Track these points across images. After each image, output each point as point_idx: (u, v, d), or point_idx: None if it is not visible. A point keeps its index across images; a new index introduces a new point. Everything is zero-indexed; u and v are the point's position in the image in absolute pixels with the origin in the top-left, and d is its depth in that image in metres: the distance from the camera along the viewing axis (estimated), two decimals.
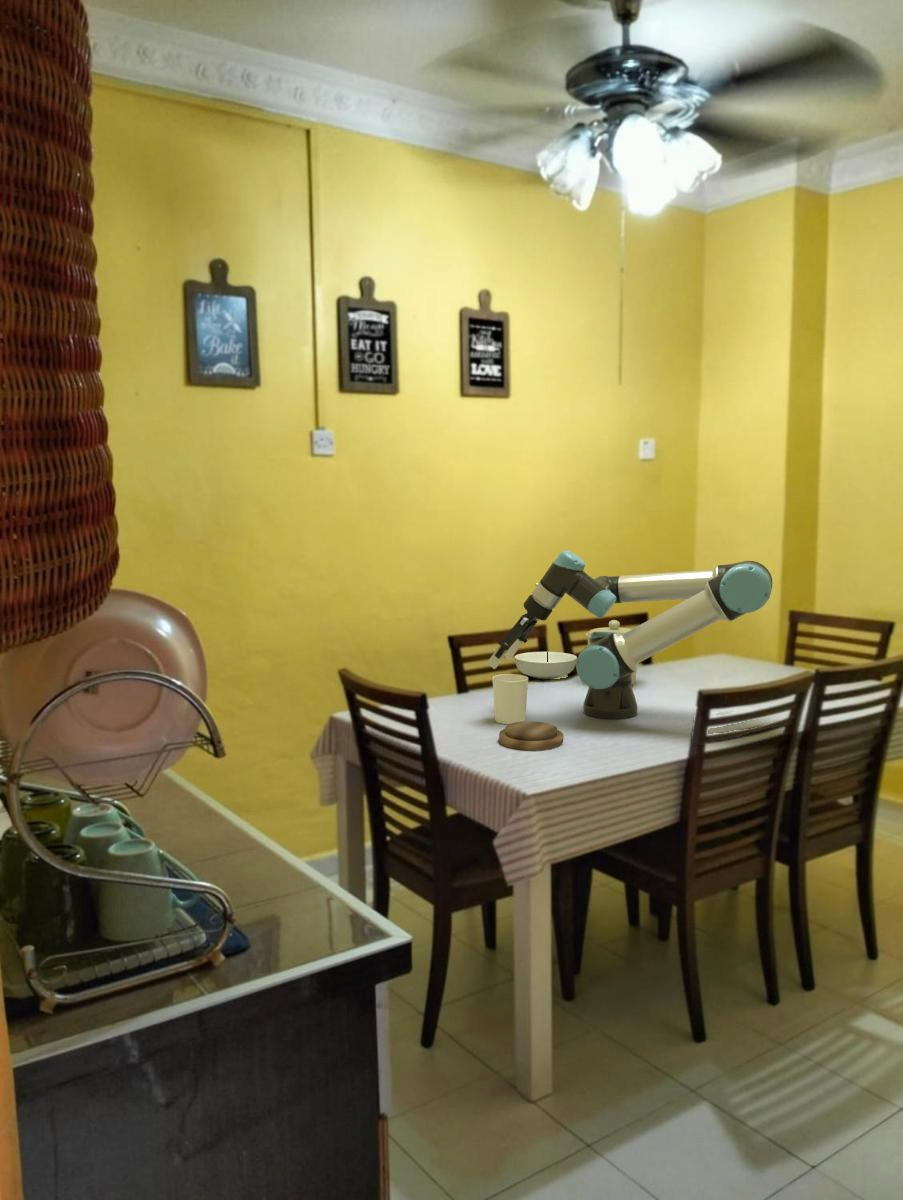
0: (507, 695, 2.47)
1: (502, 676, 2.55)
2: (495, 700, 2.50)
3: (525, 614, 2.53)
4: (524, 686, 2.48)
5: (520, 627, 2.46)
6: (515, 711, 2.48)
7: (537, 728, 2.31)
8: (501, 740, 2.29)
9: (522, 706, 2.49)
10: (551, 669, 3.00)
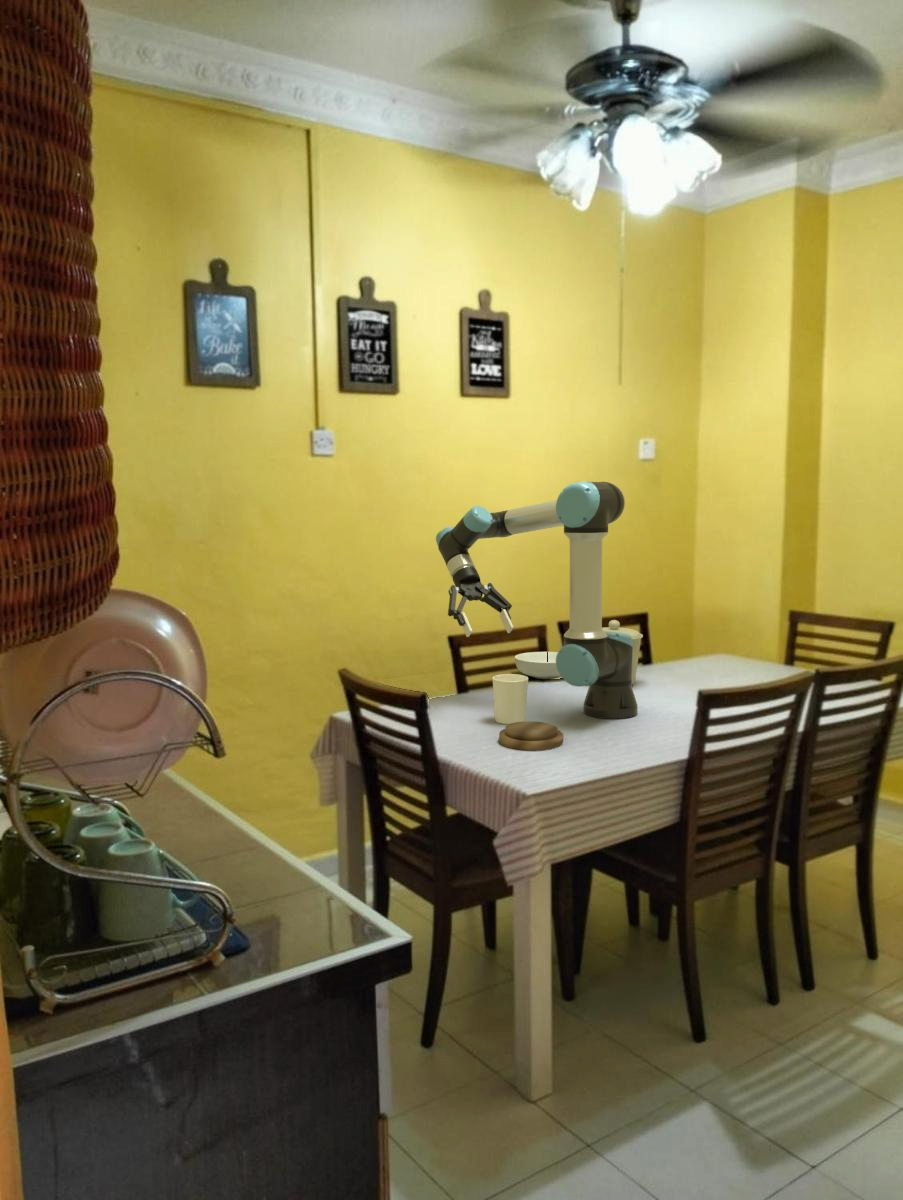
0: (507, 695, 2.47)
1: (502, 676, 2.55)
2: (495, 700, 2.50)
3: None
4: (524, 686, 2.48)
5: (451, 593, 2.62)
6: (515, 711, 2.48)
7: (537, 728, 2.31)
8: (501, 740, 2.29)
9: (522, 706, 2.49)
10: (551, 669, 3.00)
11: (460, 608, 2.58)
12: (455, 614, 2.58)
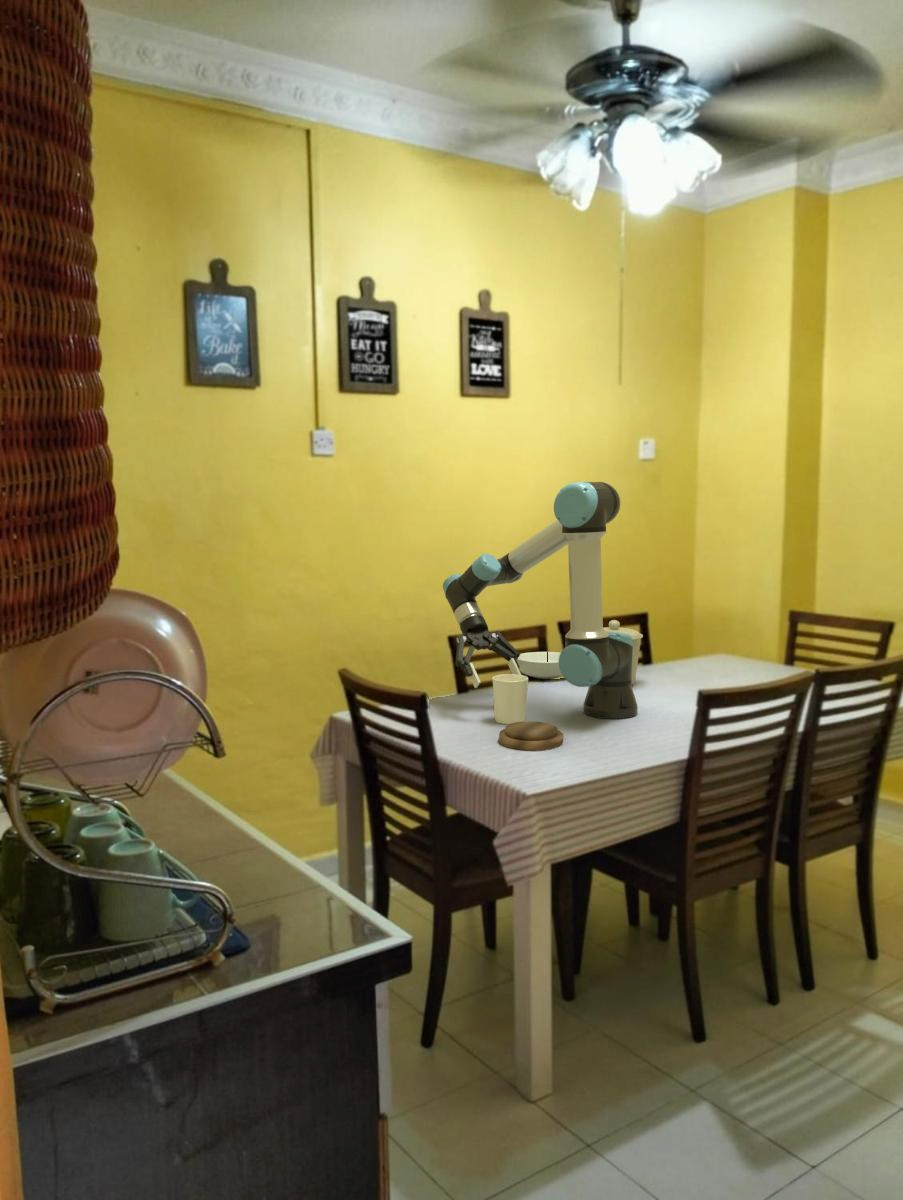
0: (507, 695, 2.47)
1: (502, 676, 2.55)
2: (495, 700, 2.50)
3: None
4: (524, 686, 2.48)
5: (459, 643, 2.59)
6: (515, 711, 2.48)
7: (537, 728, 2.31)
8: (501, 740, 2.29)
9: (522, 706, 2.49)
10: (551, 669, 3.00)
11: (468, 658, 2.55)
12: (463, 665, 2.55)
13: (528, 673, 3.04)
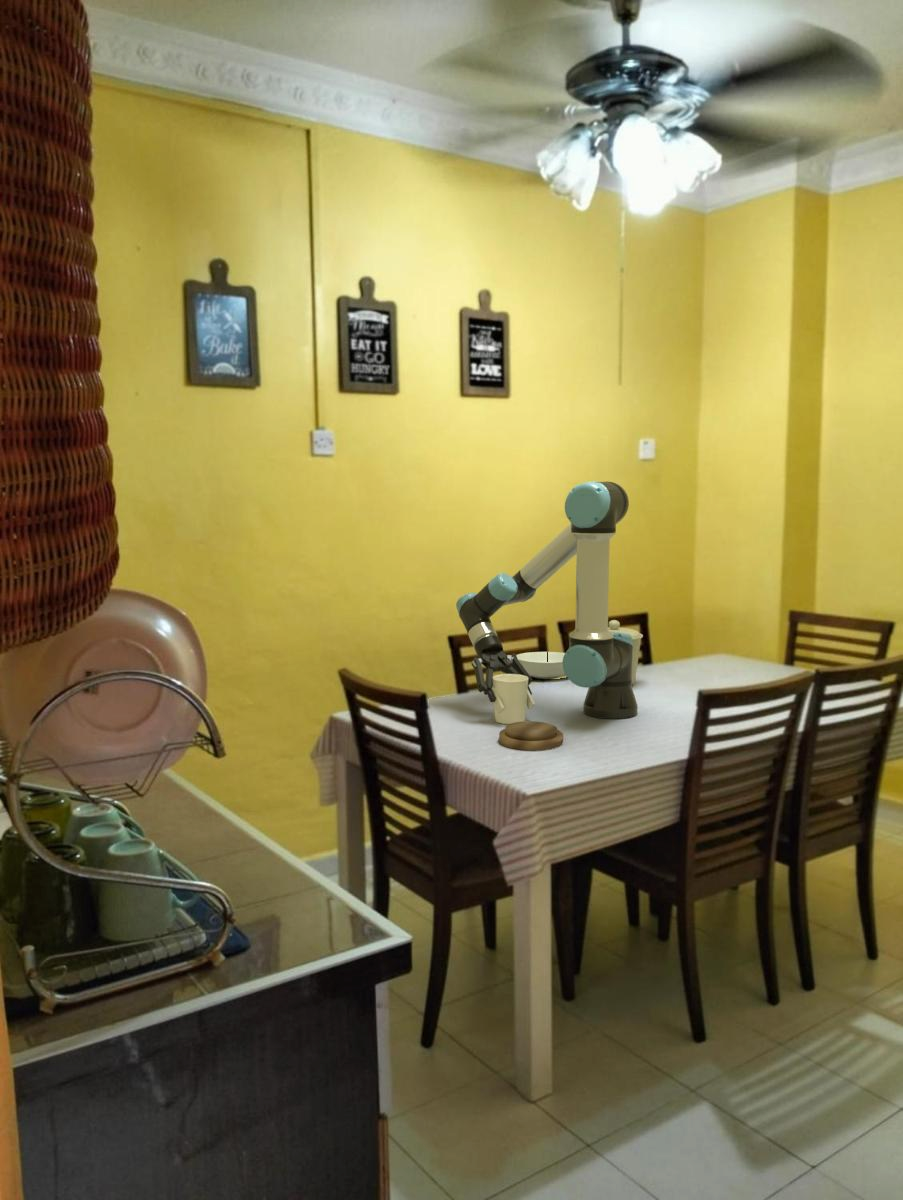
0: (507, 695, 2.47)
1: (502, 676, 2.55)
2: None
3: None
4: (524, 686, 2.48)
5: (476, 667, 2.53)
6: (515, 711, 2.48)
7: (537, 728, 2.31)
8: (501, 740, 2.29)
9: (522, 706, 2.49)
10: (551, 669, 3.00)
11: (490, 683, 2.50)
12: (486, 690, 2.49)
13: (528, 673, 3.04)
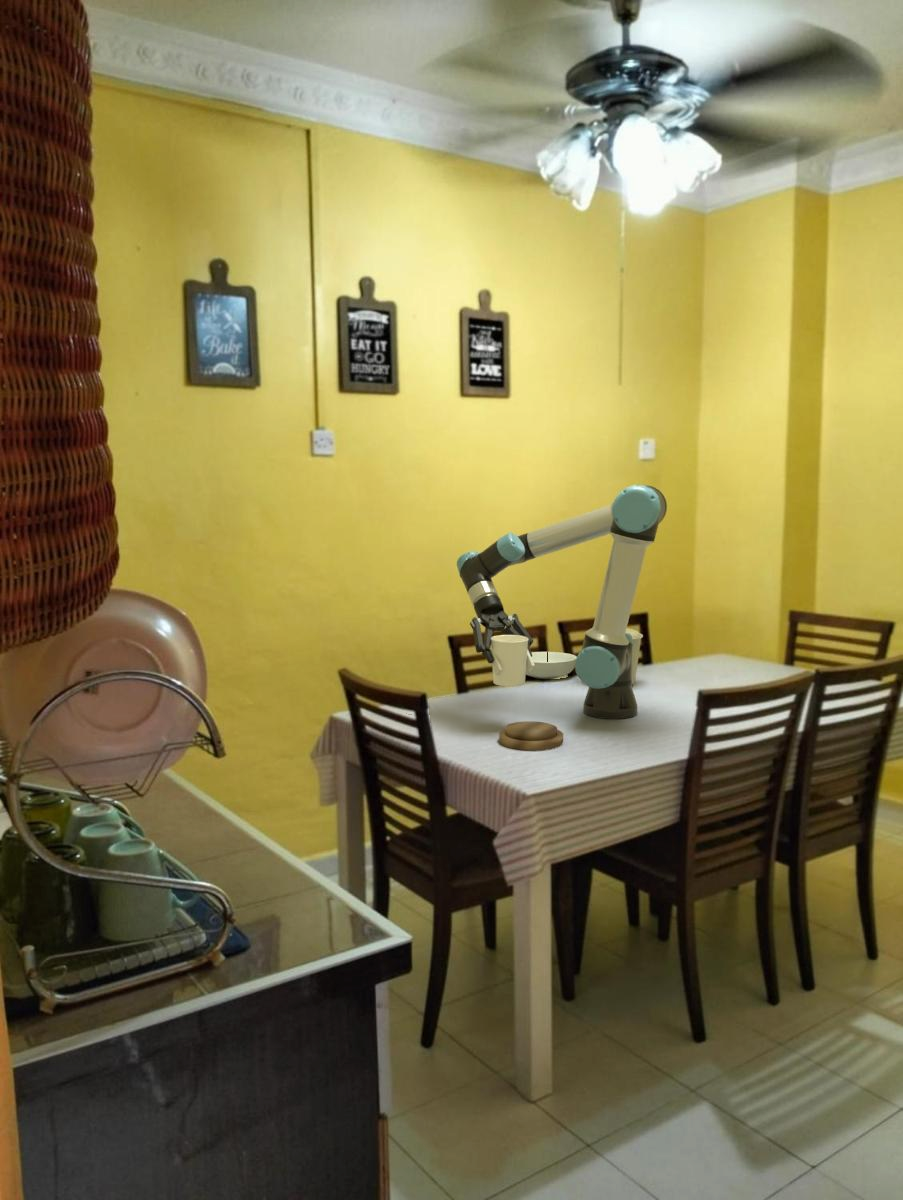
0: (505, 656, 2.38)
1: (502, 637, 2.46)
2: None
3: None
4: (523, 647, 2.39)
5: (475, 627, 2.44)
6: (514, 673, 2.39)
7: (537, 728, 2.31)
8: (501, 740, 2.29)
9: (521, 668, 2.40)
10: (551, 669, 3.00)
11: (488, 644, 2.41)
12: (484, 650, 2.40)
13: (528, 673, 3.04)
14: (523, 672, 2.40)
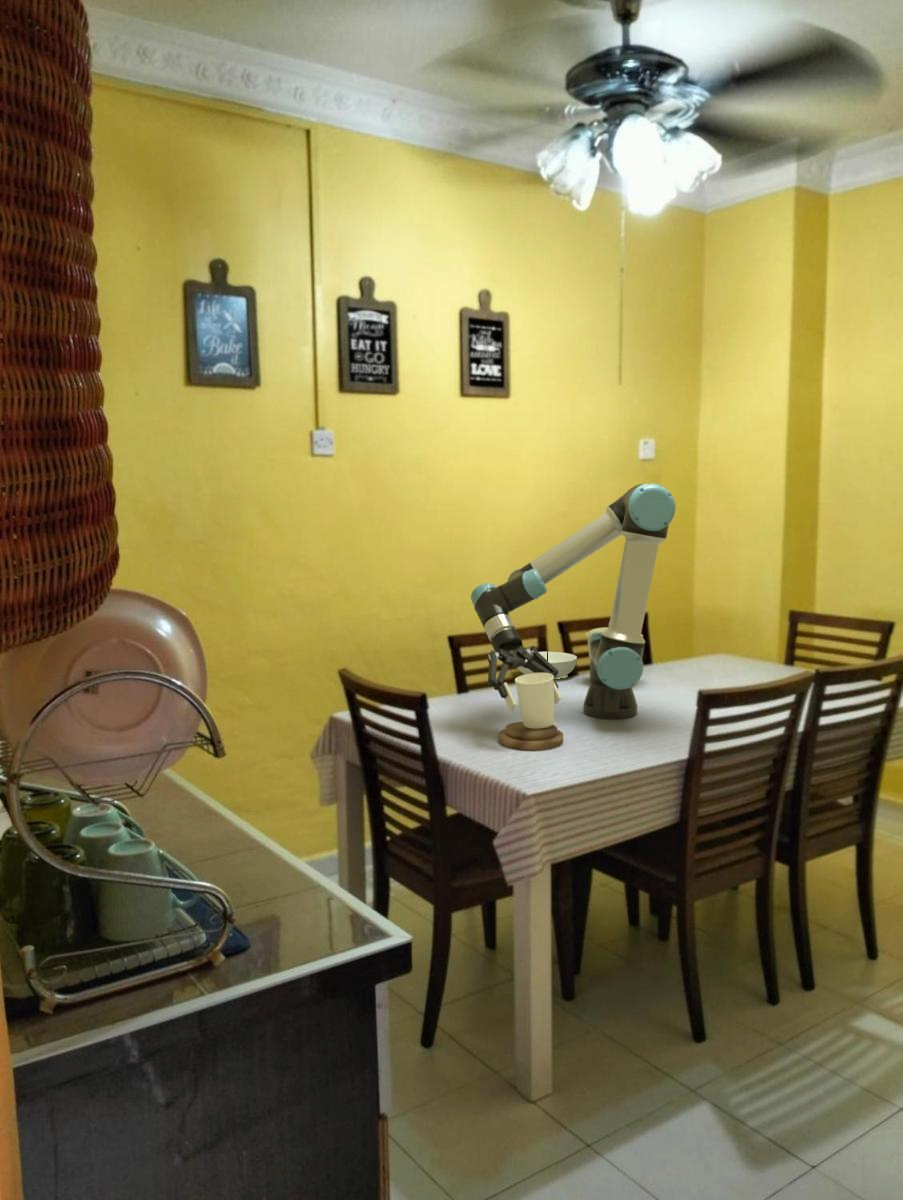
0: (534, 698, 2.28)
1: (524, 676, 2.36)
2: (521, 704, 2.31)
3: None
4: (550, 686, 2.29)
5: (491, 660, 2.32)
6: (544, 714, 2.29)
7: None
8: (501, 740, 2.29)
9: (551, 707, 2.30)
10: None
11: (501, 678, 2.29)
12: (496, 685, 2.28)
13: (528, 673, 3.04)
14: (553, 711, 2.31)
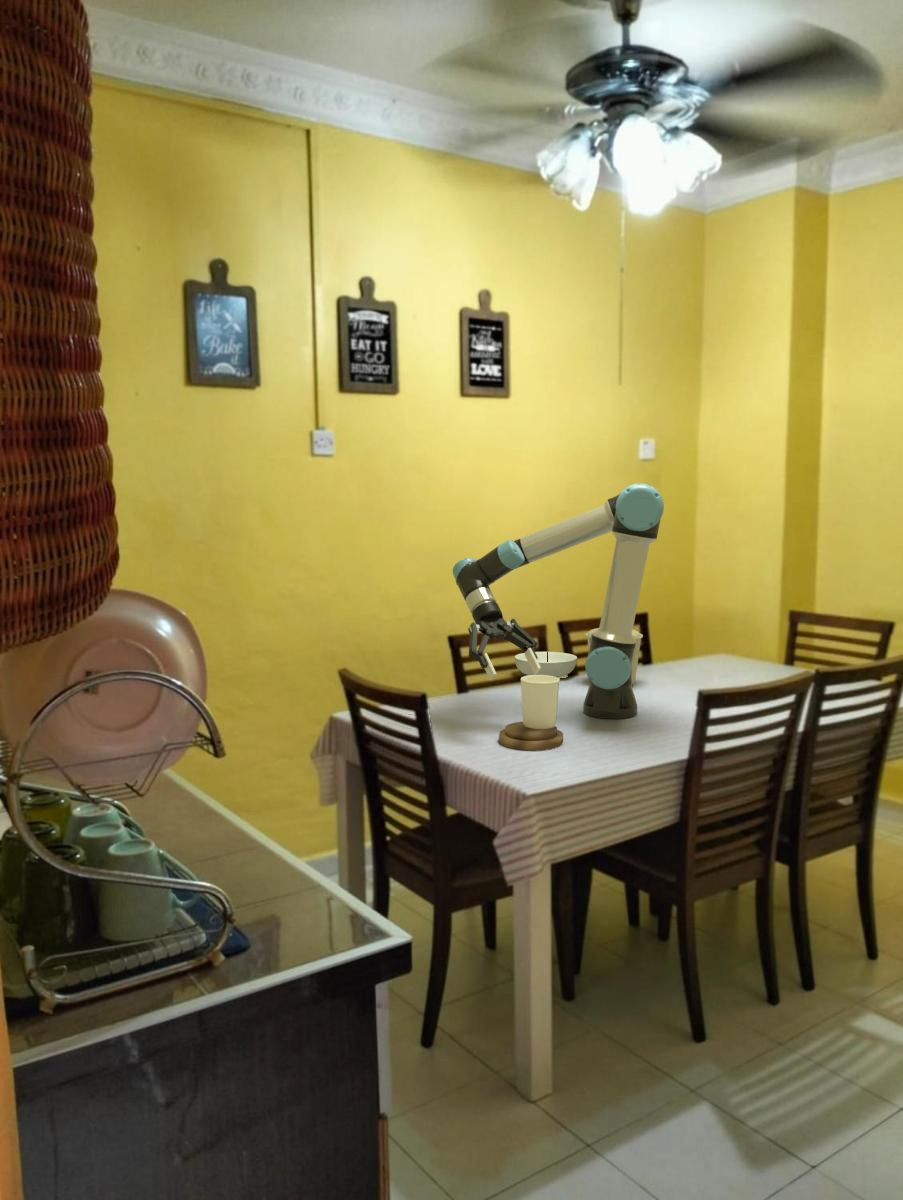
0: (539, 698, 2.29)
1: (529, 677, 2.37)
2: (525, 703, 2.31)
3: None
4: (556, 688, 2.30)
5: (472, 632, 2.38)
6: (547, 715, 2.30)
7: None
8: (501, 740, 2.29)
9: (554, 709, 2.31)
10: (551, 669, 3.00)
11: (482, 648, 2.35)
12: (477, 655, 2.34)
13: (528, 673, 3.04)
14: (555, 713, 2.32)
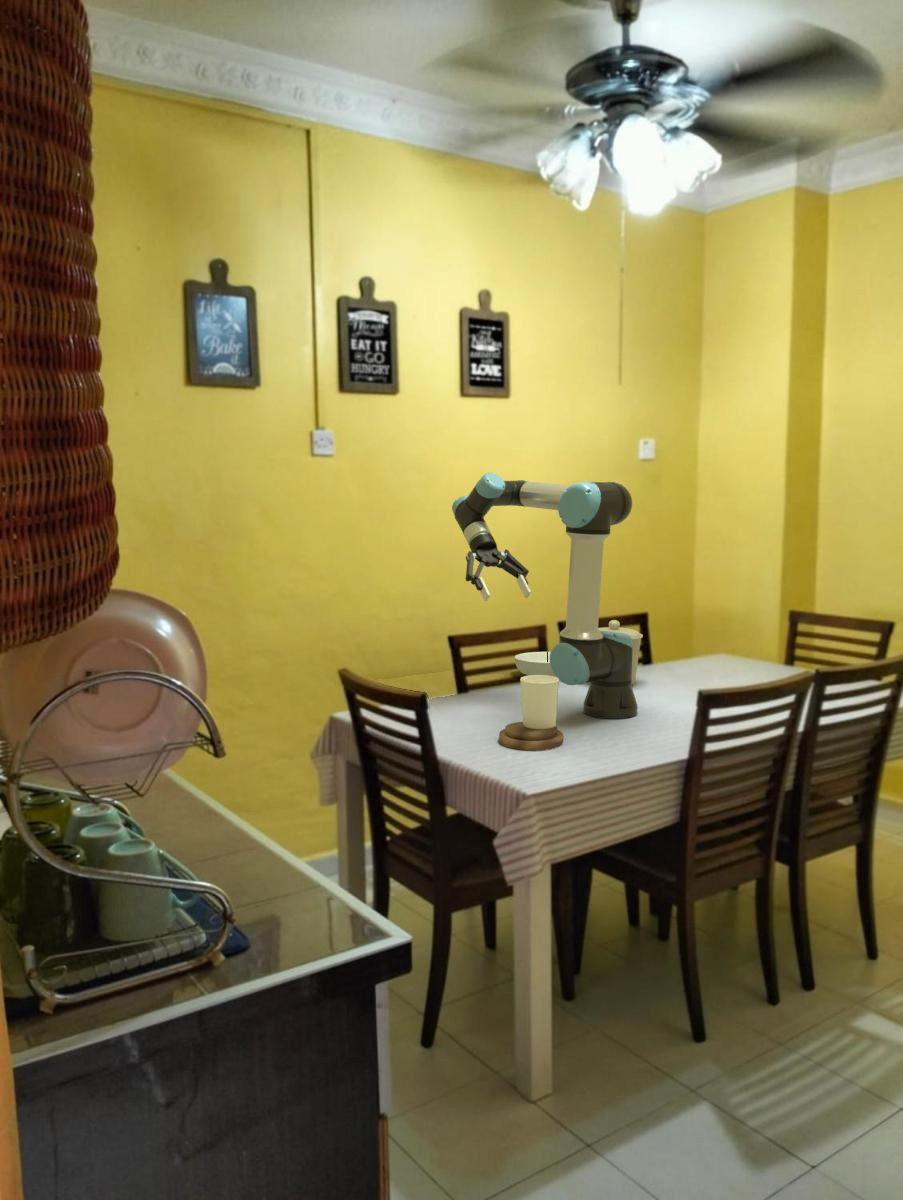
0: (539, 698, 2.29)
1: (528, 677, 2.37)
2: (524, 703, 2.31)
3: None
4: (556, 687, 2.30)
5: (469, 559, 2.64)
6: (547, 715, 2.30)
7: None
8: (501, 740, 2.29)
9: (554, 709, 2.31)
10: (551, 669, 3.00)
11: (478, 573, 2.61)
12: (473, 579, 2.60)
13: (528, 673, 3.04)
14: (555, 713, 2.32)
